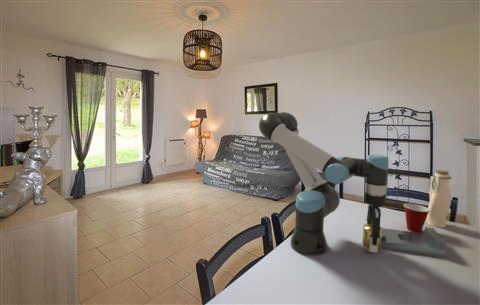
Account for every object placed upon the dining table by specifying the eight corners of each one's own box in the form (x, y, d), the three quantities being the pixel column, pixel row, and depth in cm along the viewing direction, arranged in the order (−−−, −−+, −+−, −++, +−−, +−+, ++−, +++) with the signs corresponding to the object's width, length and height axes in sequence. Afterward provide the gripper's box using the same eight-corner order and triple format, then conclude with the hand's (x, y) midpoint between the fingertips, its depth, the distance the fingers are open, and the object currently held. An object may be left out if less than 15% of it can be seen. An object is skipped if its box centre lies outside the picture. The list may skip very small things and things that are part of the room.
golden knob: (362, 253, 104) (364, 229, 102) (361, 245, 110) (362, 222, 109) (381, 256, 102) (383, 232, 100) (378, 248, 108) (380, 225, 106)
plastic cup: (433, 232, 121) (436, 208, 119) (417, 236, 118) (419, 212, 116) (411, 223, 131) (414, 201, 130) (396, 226, 128) (398, 204, 126)
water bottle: (440, 230, 124) (447, 174, 119) (420, 223, 132) (426, 170, 127) (451, 225, 128) (458, 171, 124) (431, 219, 136) (437, 168, 132)
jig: (377, 247, 109) (378, 234, 108) (372, 232, 122) (373, 221, 121) (444, 257, 101) (446, 243, 100) (431, 240, 114) (433, 228, 113)
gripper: (392, 203, 91) (387, 261, 94) (380, 186, 111) (376, 235, 115) (368, 201, 93) (364, 257, 97) (361, 185, 113) (358, 232, 117)
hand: (371, 245), depth 106 cm, fingers open, 9 cm apart
